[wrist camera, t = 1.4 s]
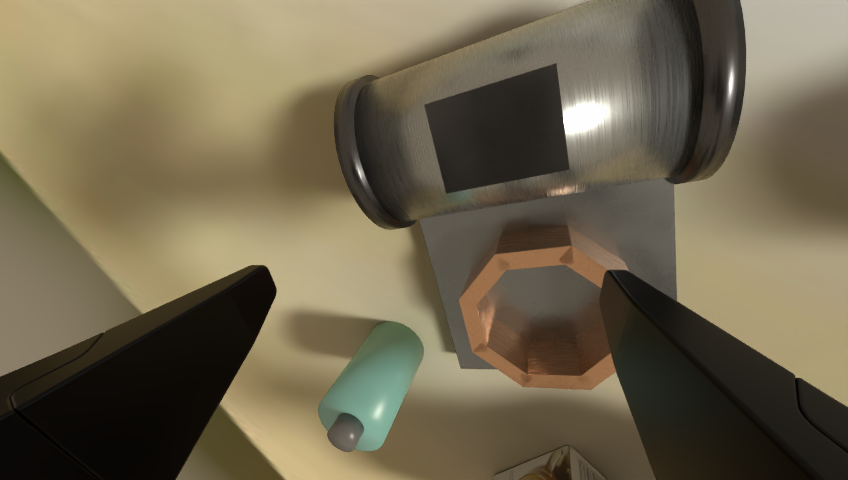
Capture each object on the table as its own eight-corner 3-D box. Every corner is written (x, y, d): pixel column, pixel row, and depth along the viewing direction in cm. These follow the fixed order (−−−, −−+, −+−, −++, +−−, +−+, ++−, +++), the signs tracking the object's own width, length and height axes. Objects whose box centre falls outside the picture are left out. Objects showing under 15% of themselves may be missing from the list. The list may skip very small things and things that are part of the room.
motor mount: (670, 356, 22) (757, 533, 13) (464, 355, 27) (427, 478, 18) (657, -13, 15) (814, -163, 6) (390, 82, 20) (278, 72, 12)
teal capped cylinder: (430, 368, 29) (386, 473, 21) (380, 367, 31) (323, 463, 23) (414, 320, 27) (361, 413, 19) (363, 322, 29) (296, 407, 21)
